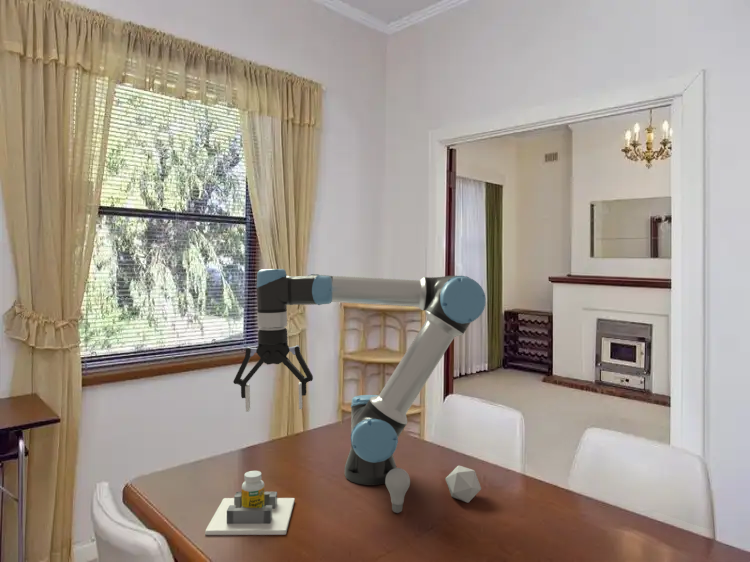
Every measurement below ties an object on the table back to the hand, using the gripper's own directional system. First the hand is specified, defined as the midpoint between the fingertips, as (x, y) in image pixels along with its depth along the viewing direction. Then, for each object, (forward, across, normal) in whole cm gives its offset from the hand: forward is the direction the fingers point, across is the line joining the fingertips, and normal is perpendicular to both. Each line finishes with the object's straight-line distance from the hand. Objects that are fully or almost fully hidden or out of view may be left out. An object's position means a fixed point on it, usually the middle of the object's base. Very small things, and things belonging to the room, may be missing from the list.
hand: (274, 409), depth 134 cm
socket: (+23, +5, +11) cm, 26 cm away
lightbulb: (+24, -30, +11) cm, 40 cm away
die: (+25, -49, +4) cm, 55 cm away
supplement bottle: (+22, +5, +11) cm, 25 cm away
